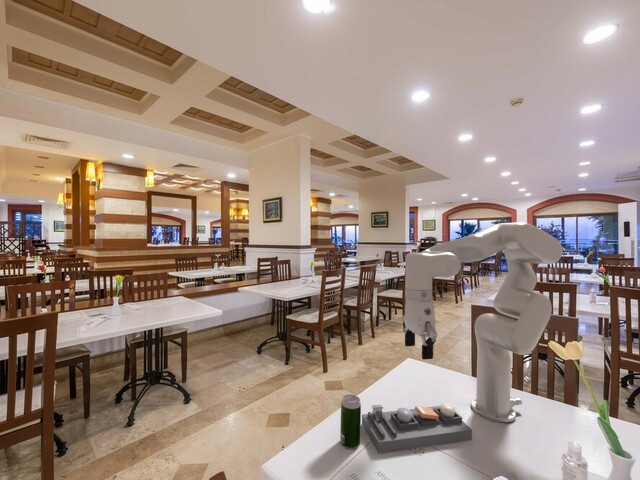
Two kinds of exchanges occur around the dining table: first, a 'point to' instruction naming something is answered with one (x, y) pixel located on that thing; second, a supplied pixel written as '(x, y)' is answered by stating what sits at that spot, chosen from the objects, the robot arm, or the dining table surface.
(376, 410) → the slide paddle
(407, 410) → the grey dome
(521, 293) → the robot arm
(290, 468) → the dining table surface
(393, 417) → the switch panel
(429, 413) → the rocker switch
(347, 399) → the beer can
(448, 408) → the white dome button
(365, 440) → the dining table surface
